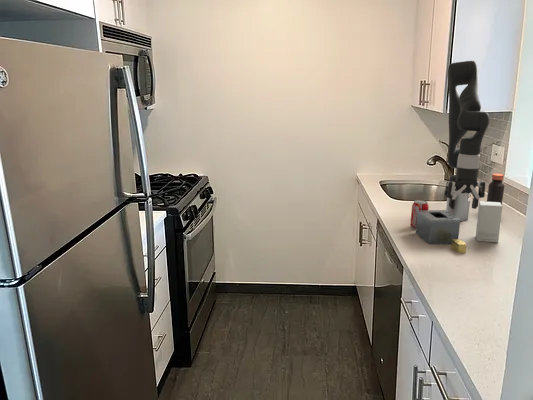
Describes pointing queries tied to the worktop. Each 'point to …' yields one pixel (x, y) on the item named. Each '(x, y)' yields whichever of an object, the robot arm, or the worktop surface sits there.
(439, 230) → the box
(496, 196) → the bottle
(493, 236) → the skincare box
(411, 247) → the worktop surface
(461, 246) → the wooden block
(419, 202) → the soda can
